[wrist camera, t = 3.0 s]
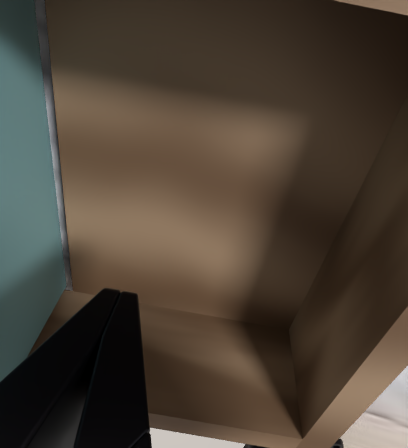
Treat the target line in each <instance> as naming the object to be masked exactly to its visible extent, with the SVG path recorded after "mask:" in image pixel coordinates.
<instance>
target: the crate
mask: <svg viewBox="0 0 408 448" xmlns="http://www.w3.org/2000/svg"><path fill="white" fill-rule="evenodd" d="M45 10H46V20H47V30H48V41H49V51H50V61H51V71H52V82H53V92H54V102H55V112H56V123H57V133H58V143H59V153H60V164H61V174H62V184H63V194H64V205H65V215H66V225H67V235H68V246H69V256H70V266H71V276H72V287H73V291H69V290H64V291H63V293H62V295H61V297H60V298H59V300H58V302H57V304H56V306H55V307H54V309H53V311H52V313H51V315H50V316H49V318H48V320H47V322H46V324H45V325H44V327H43V329H42V331H41V333H40V334H39V336H38V338H37V340H36V342H35V343H34V345H33V347H32V349H31V351H30V352H29V354H28V356H29V355H30V354H31V353H32V352H33V351H35V350H36V349H37V348H38V347H39V346H40V345H41V344H42V343H43V342H45V341H46V340H47V339H48V338H49V337H50V336H51V335H52V334H53V333H54V332H56V331H57V330H58V329H59V328H60V327H61V326H62V325H63V324H64V323H65V322H67V321H68V320H69V319H70V318H71V317H72V316H73V315H74V314H75V313H77V312H78V311H79V310H80V309H81V308H82V307H83V306H84V305H85V304H86V303H88V302H89V301H90V300H91V299H92V298H93V297H94V296H95V295H96V294H97V293H99V292H100V291H101V290H102V289H103V288H113V289H118V290H120V291H121V292H122V291H129V292H135V293H137V294H138V298H139V309H140V321H141V333H142V344H143V356H144V367H145V379H146V390H147V402H148V414H149V425H150V428H156V429H162V430H169V431H174V432H180V433H186V434H192V435H197V436H204V437H210V438H215V439H221V440H227V441H233V442H238V443H244V444H250V445H256V446H262V447H268V448H331V447H332V446H333V445H334V443H335V442H336V441H337V440H338V439H339V438H340V437H341V436H342V435H343V434H344V433H345V432H346V431H347V430H348V428H349V427H350V426H351V425H352V424H353V423H354V422H355V421H356V420H357V419H358V418H359V417H360V416H361V415H362V414H363V412H364V411H365V410H366V409H367V408H368V407H369V406H370V405H371V404H372V403H373V402H374V401H375V400H376V399H377V397H378V396H379V395H380V394H381V393H382V392H383V391H384V390H385V389H386V388H387V387H388V386H389V385H390V384H391V383H392V381H393V380H394V379H395V378H396V377H397V376H398V375H399V374H400V373H401V372H402V371H403V370H404V369H405V368H406V366H407V365H408V0H45ZM28 356H27V357H28Z"/></svg>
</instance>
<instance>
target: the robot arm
mask: <svg viewBox="0 0 408 448" xmlns="http://www.w3.org/2000/svg"><path fill="white" fill-rule="evenodd" d="M149 432H150V425H149V414H148V402H147V390H146V379H145V367H144V356H143V344H142V333H141V321H140V309H139V298H138V294H137V293H135V292H129V291H122V292H121V291H120V290H118V289H113V288H103V289H102V290H101V291H100V292H99V293H97V294H96V295H95V296H94V297H93V298H92V299H91V300H90V301H89V302H88V303H86V304H85V305H84V306H83V307H82V308H81V309H80V310H79V311H78V312H77V313H75V314H74V315H73V316H72V317H71V318H70V319H69V320H68V321H67V322H65V323H64V324H63V325H62V326H61V327H60V328H59V329H58V330H57V331H56V332H54V333H53V334H52V335H51V336H50V337H49V338H48V339H47V340H46V341H45V342H43V343H42V344H41V345H40V346H39V347H38V348H37V349H36V350H35V351H33V352H32V353H31V354H30V355H29V356H28V357H27V358H26V359H25V360H24V361H22V362H21V363H20V364H19V365H18V366H17V367H16V368H15V369H14V370H13V371H11V372H10V373H9V374H8V375H7V376H6V377H5V378H4V379H3V380H1V381H0V448H152V446H151V435H150V433H149ZM244 448H268V447H262V446H256V445H250V444H245V446H244ZM331 448H344V446H343V441H342V440H341V439H338V440H337V441H336V442H335V443H334V445H333V446H332V447H331Z"/></svg>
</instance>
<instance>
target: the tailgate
mask: <svg viewBox="0 0 408 448" xmlns="http://www.w3.org/2000/svg"><path fill="white" fill-rule="evenodd" d="M65 288H66V278H65V269H64V260H63V251H62V243H61V234H60V225H59V216H58V207H57V198H56V189H55V181H54V172H53V163H52V154H51V145H50V136H49V127H48V119H47V110H46V101H45V92H44V83H43V74H42V65H41V57H40V48H39V39H38V30H37V21H36V12H35V3H34V0H0V381H1V380H3V379H4V378H5V377H6V376H7V375H8V374H9V373H10V372H11V371H13V370H14V369H15V368H16V367H17V366H18V365H19V364H20V363H21V362H22V361H24V360H25V359H26V358H27V356H28V354H29V352H30V351H31V349H32V347H33V345H34V343H35V342H36V340H37V338H38V336H39V334H40V333H41V331H42V329H43V327H44V325H45V324H46V322H47V320H48V318H49V316H50V315H51V313H52V311H53V309H54V307H55V306H56V304H57V302H58V300H59V298H60V297H61V295H62V293H63V291H64V289H65Z"/></svg>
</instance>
